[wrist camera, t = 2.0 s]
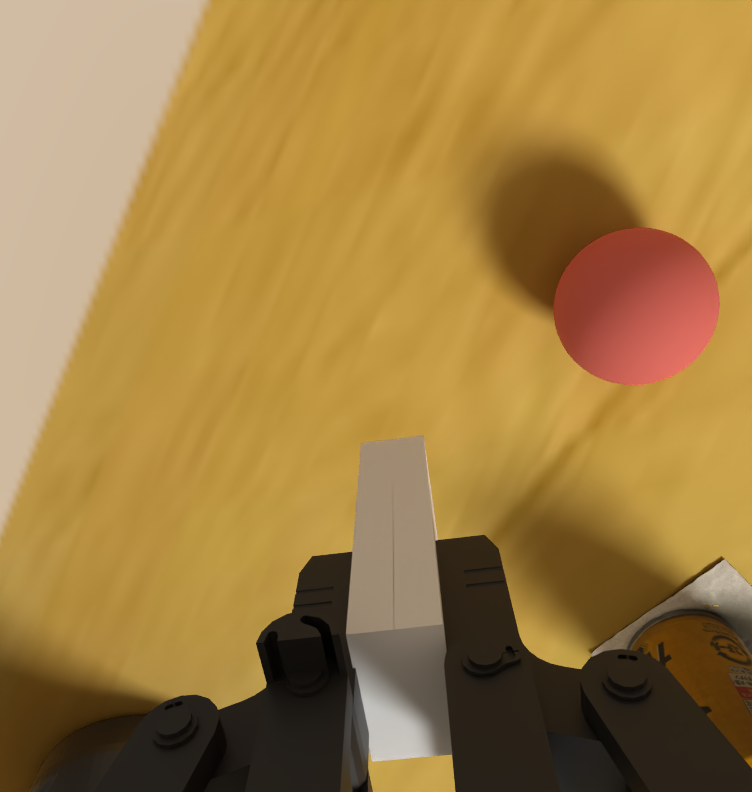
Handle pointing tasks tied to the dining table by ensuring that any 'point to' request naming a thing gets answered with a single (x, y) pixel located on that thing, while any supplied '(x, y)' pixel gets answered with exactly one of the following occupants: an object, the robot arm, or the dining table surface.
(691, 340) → the ball
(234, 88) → the dining table surface
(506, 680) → the robot arm
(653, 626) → the condiment
